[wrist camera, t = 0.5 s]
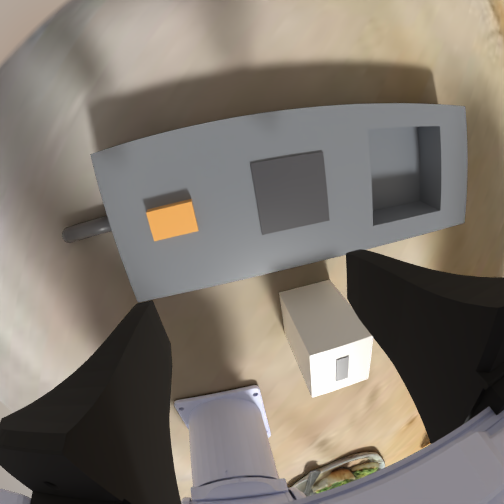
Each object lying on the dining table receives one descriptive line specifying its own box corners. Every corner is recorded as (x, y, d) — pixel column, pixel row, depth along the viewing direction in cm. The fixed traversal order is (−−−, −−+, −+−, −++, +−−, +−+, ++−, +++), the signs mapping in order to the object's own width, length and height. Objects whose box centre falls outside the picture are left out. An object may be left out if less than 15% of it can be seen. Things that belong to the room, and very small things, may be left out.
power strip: (438, 104, 18) (470, 106, 15) (440, 211, 22) (469, 225, 19) (46, 170, 16) (19, 181, 13) (88, 291, 20) (73, 320, 16)
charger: (330, 320, 25) (368, 379, 18) (284, 333, 24) (312, 398, 18) (329, 279, 23) (374, 335, 16) (278, 292, 22) (310, 356, 16)
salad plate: (260, 480, 37) (266, 505, 32) (371, 432, 36) (383, 456, 32) (302, 501, 45) (308, 519, 41) (385, 464, 44) (394, 481, 40)
